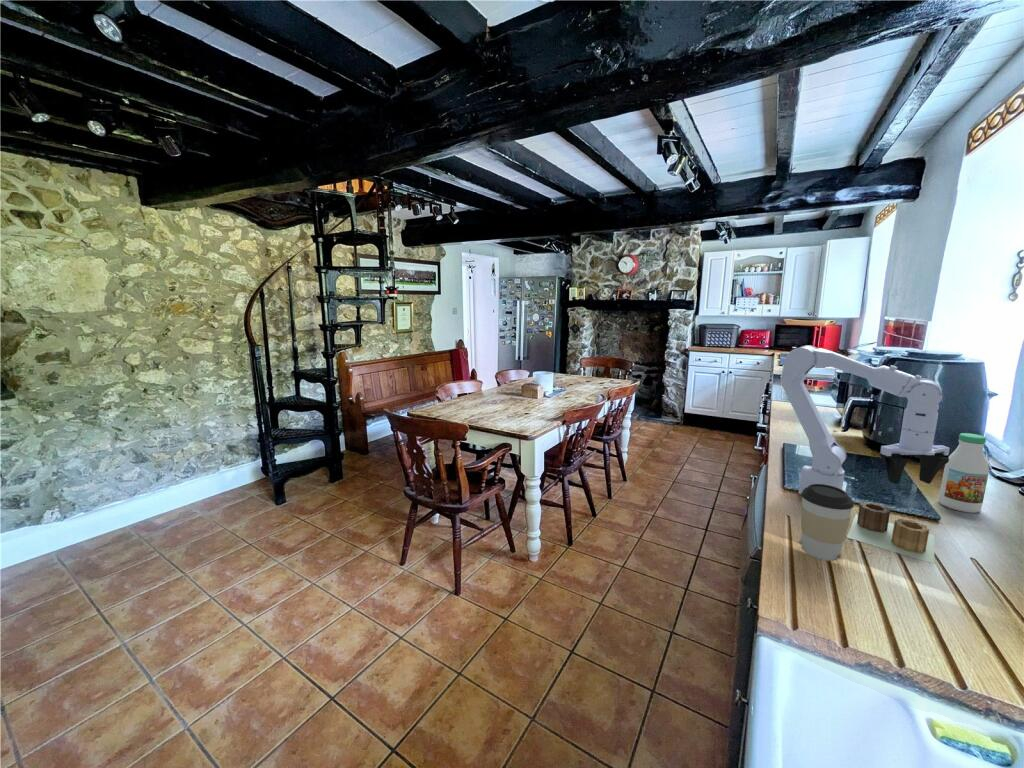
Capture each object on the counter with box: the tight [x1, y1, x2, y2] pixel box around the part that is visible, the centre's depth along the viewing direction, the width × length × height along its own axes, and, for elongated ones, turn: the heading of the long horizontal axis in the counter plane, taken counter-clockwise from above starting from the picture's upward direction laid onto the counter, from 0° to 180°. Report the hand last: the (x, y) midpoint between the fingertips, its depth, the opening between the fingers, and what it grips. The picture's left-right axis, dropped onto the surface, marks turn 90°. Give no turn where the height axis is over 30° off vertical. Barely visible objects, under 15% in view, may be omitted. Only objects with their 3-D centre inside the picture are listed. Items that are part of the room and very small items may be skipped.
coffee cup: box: [800, 484, 855, 562], centre depth 88 cm, size 9×9×15 cm
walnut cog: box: [857, 501, 891, 533], centre depth 96 cm, size 5×5×5 cm
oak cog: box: [891, 518, 930, 553], centre depth 88 cm, size 5×5×5 cm
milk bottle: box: [938, 432, 990, 514], centre depth 106 cm, size 8×8×20 cm
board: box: [846, 513, 936, 565], centre depth 92 cm, size 14×15×4 cm
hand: (909, 482), depth 99 cm, fingers open, 7 cm apart
